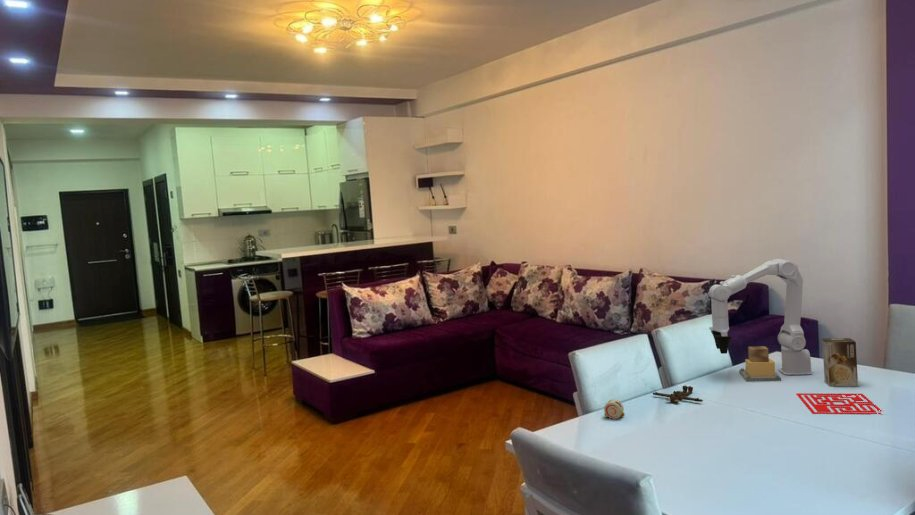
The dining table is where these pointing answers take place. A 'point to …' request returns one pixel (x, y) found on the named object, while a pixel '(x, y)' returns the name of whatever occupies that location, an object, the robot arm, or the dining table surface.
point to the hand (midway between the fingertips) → (721, 350)
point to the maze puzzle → (823, 409)
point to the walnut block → (758, 354)
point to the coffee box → (840, 362)
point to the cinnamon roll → (614, 409)
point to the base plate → (759, 377)
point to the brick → (760, 368)
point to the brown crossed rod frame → (679, 395)
